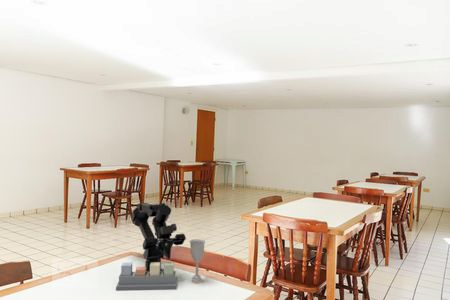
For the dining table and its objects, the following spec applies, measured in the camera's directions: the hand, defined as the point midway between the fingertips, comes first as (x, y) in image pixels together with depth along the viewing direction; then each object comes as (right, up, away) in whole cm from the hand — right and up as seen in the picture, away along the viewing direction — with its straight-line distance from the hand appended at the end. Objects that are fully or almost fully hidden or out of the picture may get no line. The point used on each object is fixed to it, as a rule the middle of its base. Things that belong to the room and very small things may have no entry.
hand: (169, 258), depth 160 cm
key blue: (-18, -7, -1) cm, 20 cm away
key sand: (-6, -8, 0) cm, 10 cm away
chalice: (+12, -12, +5) cm, 17 cm away
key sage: (0, -8, 0) cm, 8 cm away
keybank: (-9, -11, -1) cm, 15 cm away
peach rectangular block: (-12, -9, -1) cm, 15 cm away
